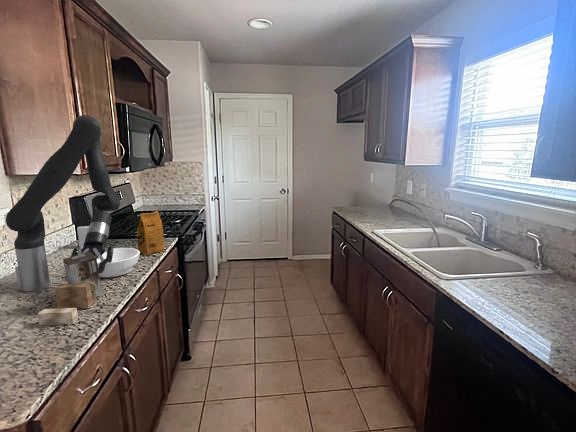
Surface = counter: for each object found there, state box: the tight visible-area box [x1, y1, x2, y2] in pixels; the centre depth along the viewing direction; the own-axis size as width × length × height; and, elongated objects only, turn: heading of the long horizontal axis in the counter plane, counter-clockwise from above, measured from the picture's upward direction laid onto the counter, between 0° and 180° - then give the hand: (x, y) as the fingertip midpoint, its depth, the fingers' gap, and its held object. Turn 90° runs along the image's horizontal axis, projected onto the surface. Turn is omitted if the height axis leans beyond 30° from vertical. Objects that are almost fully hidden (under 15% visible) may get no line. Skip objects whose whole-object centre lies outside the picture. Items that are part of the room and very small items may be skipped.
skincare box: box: [76, 225, 90, 249], centre depth 185 cm, size 6×4×12 cm
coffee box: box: [62, 252, 104, 298], centre depth 119 cm, size 9×6×16 cm
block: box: [54, 283, 97, 310], centre depth 115 cm, size 10×6×8 cm, turn 96°
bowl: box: [97, 247, 141, 278], centre depth 147 cm, size 22×22×8 cm
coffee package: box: [136, 210, 165, 256], centre depth 176 cm, size 10×12×22 cm
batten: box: [37, 308, 79, 326], centre depth 104 cm, size 10×3×4 cm, turn 96°
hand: (87, 273), depth 121 cm, fingers open, 8 cm apart
